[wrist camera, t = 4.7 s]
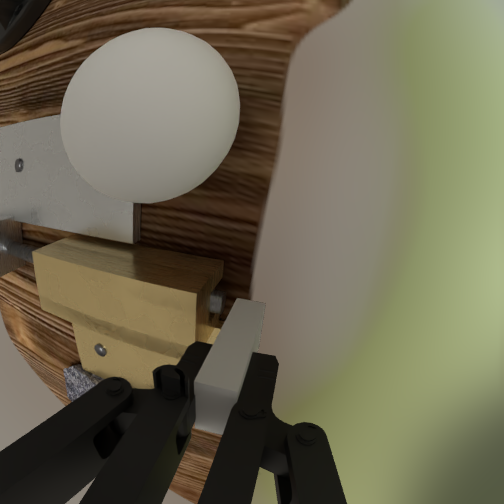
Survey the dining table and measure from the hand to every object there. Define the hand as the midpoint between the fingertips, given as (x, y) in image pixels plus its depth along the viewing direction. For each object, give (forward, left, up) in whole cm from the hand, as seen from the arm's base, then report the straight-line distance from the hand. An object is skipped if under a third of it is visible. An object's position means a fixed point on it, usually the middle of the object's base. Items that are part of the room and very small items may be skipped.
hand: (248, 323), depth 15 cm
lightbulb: (-10, -4, -4) cm, 11 cm away
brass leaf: (+5, -8, -3) cm, 10 cm away
